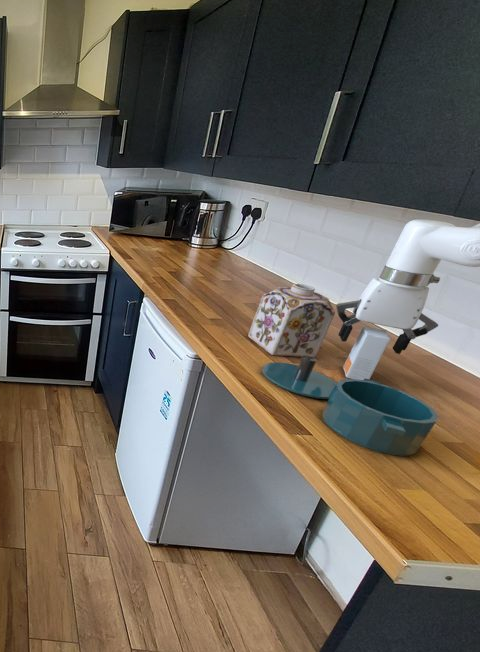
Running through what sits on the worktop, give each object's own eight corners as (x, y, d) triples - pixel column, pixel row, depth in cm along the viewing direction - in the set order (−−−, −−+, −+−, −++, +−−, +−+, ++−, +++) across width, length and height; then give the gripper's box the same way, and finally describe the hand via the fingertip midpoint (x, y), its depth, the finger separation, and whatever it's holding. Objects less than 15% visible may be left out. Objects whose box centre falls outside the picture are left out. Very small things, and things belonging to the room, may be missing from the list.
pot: (401, 418, 83) (419, 388, 80) (433, 476, 68) (457, 442, 65) (316, 395, 90) (330, 366, 87) (328, 443, 75) (345, 410, 72)
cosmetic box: (341, 367, 102) (362, 325, 97) (364, 373, 100) (386, 330, 95) (345, 377, 98) (366, 333, 93) (368, 383, 95) (391, 339, 91)
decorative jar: (246, 336, 117) (267, 277, 110) (286, 338, 117) (310, 280, 109) (272, 356, 106) (297, 293, 99) (316, 359, 106) (346, 295, 99)
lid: (334, 379, 97) (346, 355, 94) (345, 409, 85) (358, 383, 83) (260, 360, 104) (269, 337, 102) (261, 386, 93) (271, 361, 90)
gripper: (453, 281, 87) (413, 350, 94) (350, 265, 96) (321, 330, 103) (467, 290, 81) (423, 363, 88) (356, 273, 90) (324, 340, 97)
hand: (368, 345), depth 96 cm, fingers open, 9 cm apart
